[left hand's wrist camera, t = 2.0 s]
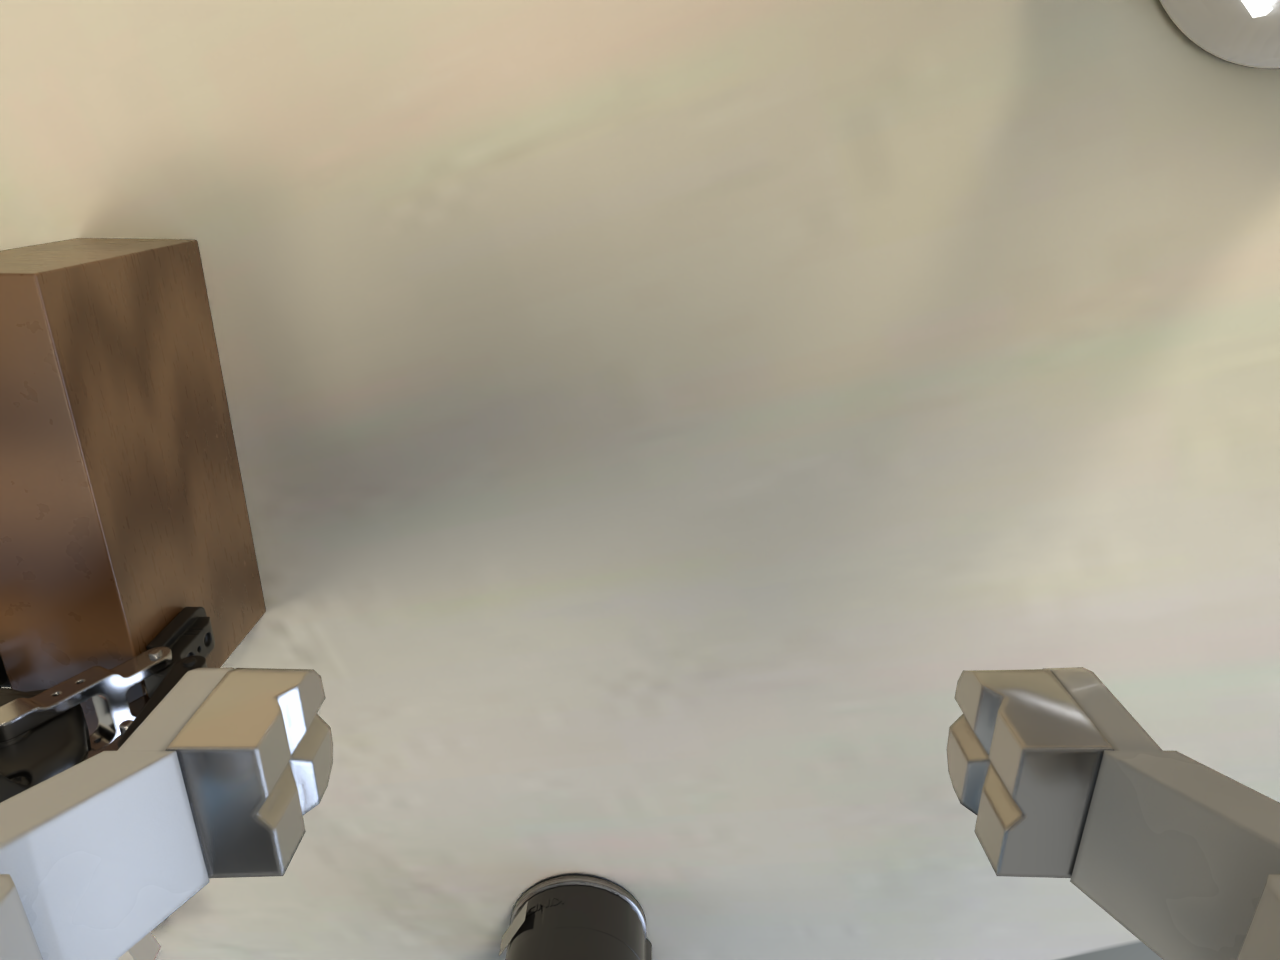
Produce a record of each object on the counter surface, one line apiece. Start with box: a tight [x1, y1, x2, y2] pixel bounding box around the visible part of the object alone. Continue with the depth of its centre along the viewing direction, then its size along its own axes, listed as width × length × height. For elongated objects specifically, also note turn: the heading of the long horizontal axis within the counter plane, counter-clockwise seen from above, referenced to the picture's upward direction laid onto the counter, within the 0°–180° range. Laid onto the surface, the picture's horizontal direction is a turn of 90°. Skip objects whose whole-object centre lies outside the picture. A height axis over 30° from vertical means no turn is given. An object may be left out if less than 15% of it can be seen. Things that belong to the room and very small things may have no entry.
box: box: [0, 238, 266, 736], centre depth 38 cm, size 21×6×12 cm, turn 179°
